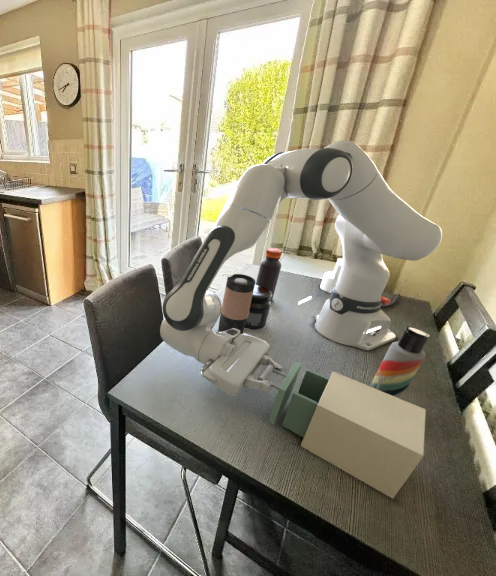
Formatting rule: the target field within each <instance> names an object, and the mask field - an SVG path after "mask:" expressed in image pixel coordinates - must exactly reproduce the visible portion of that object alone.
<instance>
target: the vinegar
mask: <svg viewBox="0 0 496 576" xmlns="http://www.w3.org/2000/svg"><path fill="white" fill-rule="evenodd" d="M282 253H283V250H281V249H279V248H276V247H269V248H267V249H266V251H265V258H264V259H263V260H261V261H260V264H259V269H258V273H257V276H256V277H257V278H256V280H255V285H258V286H262V287H265V288H267V289H268V290H270V291H271V292H272V297H271V300H270V301H271V303H272V302H273V299H274V295H275V291H276V287H277V284H278V280H279V276H280V272H281V269H282V263H281V262H280V259H281V257H282Z"/></svg>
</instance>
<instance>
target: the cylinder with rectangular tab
mask: <svg viewBox="0 0 496 576" xmlns="http://www.w3.org/2000/svg"><path fill="white" fill-rule="evenodd" d="M342 260H343V258H339V257H338V258H337V260H336V263H335V266H334V269H333V271H326V272H324V274H323V277H322V280H321V283H320V286H319V288H320V289H321V290H322V291H324V292H325V293H329V294H330V293H331V291H332V289H333V288H334V287H335V286H336V283H337V280H338V277H339V274H340V271H341V267H342Z"/></svg>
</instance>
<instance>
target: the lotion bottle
mask: <svg viewBox="0 0 496 576" xmlns="http://www.w3.org/2000/svg"><path fill="white" fill-rule="evenodd" d="M429 339H430V334H428V333H427V332H425V331H423V330H421V329H420V328H417V327H414V326H407V327H405V329H404V331H403V332H402V334H401V336H400V338H399V340H398V341H394V342H393V341H392V343H391V344H390V345H389V347H388V349H387V351H386V353H385V355H384V358H383V359H382V361H381V362H380V365H379V367H378V369H377V371H376V373H375V375H374V377H373V379H372V381H371V383H370V385H369V386H370V387H372V388H375V389H377V390H379V391H382V392H384V393H387V394H389V395H392V396H394V397H396V398H399V399H401V400H402V398H403V397H404V394H405V393H406V391H407V389H408V388H409V386H410V384H411V383H412V381H413V379H414V377H415V376H416V374H417V372H418V370H419V369H420V367H421V365H422V363H423V362H424V360H425V358H426V352H425V351H424V350H423V349H424V348H425V346H426V344H427V343H428V341H429Z"/></svg>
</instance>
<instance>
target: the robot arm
mask: <svg viewBox="0 0 496 576" xmlns="http://www.w3.org/2000/svg"><path fill="white" fill-rule="evenodd" d="M284 199H290V200H312V201H320V200H326V199H327V200H328V201H329V203H330V204H331V206H332V207H333V208H334V210H335V211H336V213H337V214H338V215H337V217H336V219H335V223H334V229H335V230H334V231H335V232H336V234H337V235H338V237H339V240H340V244H341V252H342V253H341V254H342V259H343V260H342V267H341V271H340V274H339V277H338V280H337V283H336V286H335V287H334V288H333V289H332V291H331V293H329V297H328V298H327V299H326V300H325V302H324V304H323V306H322V308H321V310H320V312H319V314H316V315H315V317H314V318H315V322H314V328H315V330H316V332H318V334H320V335H321V336H323V337H325V338H327V339H328V340H330V341H333V342H335V343H338V344H340V345H341V344H342V345H346V346H349V347H351V346H352V347H355V348H358V349H360V350H364V351H371V350H374V349H376V348H379V347H380V346H383V345H385V344H387V343H391V342H393V341H395V340H396V338H397V336H396V334H395V333H394V332H393V331H391V330H390V327H391V325H392V320H391V318H390V317H389V316H388V315H387V314H386V313H385V311H383V310H382V308H388V307H391V306H393V305H394V304H395V303H396V301H397V300H398V299H399V297H400V296H401V293H399V292H398V293H396V295H397V296H395V297H394V298H393V300H392V301H391V299H390V298H387V297H385V296H382V295H383V294H384V290H385V288H386V286H387V285H388V282H389V280H390V270H389V268H388V267H387V266H386V264H385V262H384V259H383V255H384V256H386V257H389V258H392V259H399V260H403V261H404V260H405V261H411V262H413V261H414V262H416V261H419V260H422V259H424V258H427V257H428V256H430V255H432V254H433V253H434V252H435V251H436V250H437V248H438V247H439V246H440V244H441V242H442V238H443V231H442V228H441V227H440V225H439V224H437V223H435V222H433V221H431V220H429V218H426V217H424V216H423V215H421V214H420V213H419V212H418V211H416V210H415V209H414V208H413V207H411V206H410V205H409V204H408V203H407V202H406V201H404V200H403V199H402V198H401V197H400V196H398V195H397V194H396V193H395V192H394V191H393V190H392V189H391V187H390V186H389V185H388V183H387V181H386V180H385V179H384V177H383V175H382V174H381V172H380V170H379V169H378V168H377V166H376V164H375V162H374V161H373V160H372V158H371V156H369V155H368V154H367V153H366V152H365V150H363V148H361V147H360V146H359V145H358V144H357V143H356V142H354V141H352V140H348V139H342V140H341V139H340V140H336V141H333V142H332V143H330V144H328V145H326V146H324V147H323V148H301V149H296V150H291V151H281V152H278V153H275V154H272V155H270V156H268V157H267V158H266V159H264V161H262V163H260V164H255V165H254V164H253V165H252V166H250V167H248V169H246V170H245V171H244V173H243V175H242V176H241V177H240V178H239V179H238V181H237V183H236V184H235V186H234V187H233V189H232V191H231V192H230V194H229V196H228V198H227V200H226V202H225V204H224V206H223V207H222V211H221V212H220V214H219V216H218V217H217V220H216V222H215V224H214V225H213V227H212V228H211V230H210V231H209V233H208V234H207V235H206V237H205V238H204V240H203V242H202V243H201V244H200V247H199V248H198V250H197V252H196V254H195V255H194V256H193V258H192V260H191V262H190V264H189V266H188V268H187V269H186V270H185V272H184V274H183V276H182V277H181V279H180V281H179V282H178V283H177V284H176V285H175V286H174V287H173V288H172V289H171V290H169V292H168V293H167V294H166V295H165V297H164V299H163V302H162V314H163V317H164V318H163V319H162V321H161V324H160V326H159V327H160V328H159V334H160V338H161V340H162V341H163V342H164V343H165V344H166V345H167V346H169V347H170V348H172V349H173V350H174V351H177V352H179V353H181V355H184V356H188V357H191V358H193V359H195V360H196V361H197V362H198V363H200V364H202V367H201V368H200V374H201V376H202V377H203V378H204V379H206V380H208V381H209V383H211V384H212V385H214V387H216V388H217V389H218V390H220V391H222V392H223V393H225V394H227V395H229V396H231V397H232V396H233V397H237V396H238V395H239V394H240V393H241V392H242V390H243V389H244V387H247V388H249V389H256V390H261V391H264V392H265V393H269V392H270V390H271V388H272V383H273V382H272V381H270V382H268V381H269V380H268V379H267V380H268V381H267V380H263V381H260V380H257V378H255V377H254V374H255V373H256V371H257V370H258V369H259V368H260V367H261V366H263V367H267V365H272V366H274V369H276V370H278V371H280V372H283V369H284V366H283V365H281V364H279V363H277V362H276V361H274V360H273V359H272V358H271V356H269V353H270V350H271V345H270V344H269V343H268V342H267V341H265V340H264V339H261V338H259V337H257V336H254V335H251V334H249V333H244V332H243V333H242V334H240V330H238V329H235V328H232V329H229V330H226V331H222V332H219V333H218V331H215V330H213V328H214V326H215V325H216V324H217V321H218V320H219V318H220V314H221V308H222V302H221V299H220V298H219V295H217V294H216V293H215V292H213V291H211V290H209V288H210V287H211V285H212V283H213V282H214V280H215V279H216V276H217V274H218V273H219V271H220V269H221V268H222V266H223V265H224V264H225V262H227V261H228V260H229V259H230V258H231V257H233V256H235V255H237V254H239V253H240V252H243V251H246V250H248V249H252V248H253V247H255V245H256V244H257V243H258V242H259V240H260V239H261V238H262V236H263V235H264V233H265V232H266V231H267V229H268V226H269V225H270V223H271V221H272V219H273V217H274V215H275V213H276V211H277V209H278V206H279V204H280V203H281V202H282V201H283V200H284ZM312 298H313V297H312V295H309V296H308V297H306V298H304V299H301V300H299V301H298V303H297V305H301V304H303V303H305V302H308V301H310V300H312ZM272 374H275V375H277V376H280V375H279V374H277V373H274V372H272ZM271 382H272V383H271Z"/></svg>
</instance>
